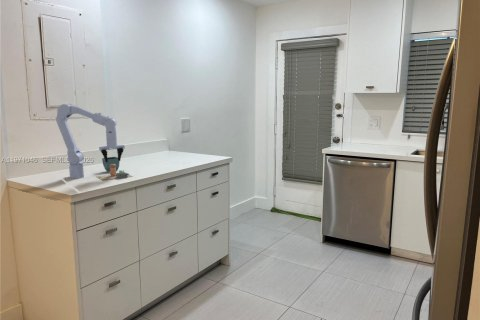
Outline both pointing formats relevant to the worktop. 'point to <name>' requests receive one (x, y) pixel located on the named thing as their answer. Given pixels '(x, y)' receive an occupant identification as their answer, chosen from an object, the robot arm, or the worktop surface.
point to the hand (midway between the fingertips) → (112, 161)
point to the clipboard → (109, 177)
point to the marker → (112, 169)
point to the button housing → (121, 175)
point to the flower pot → (110, 161)
